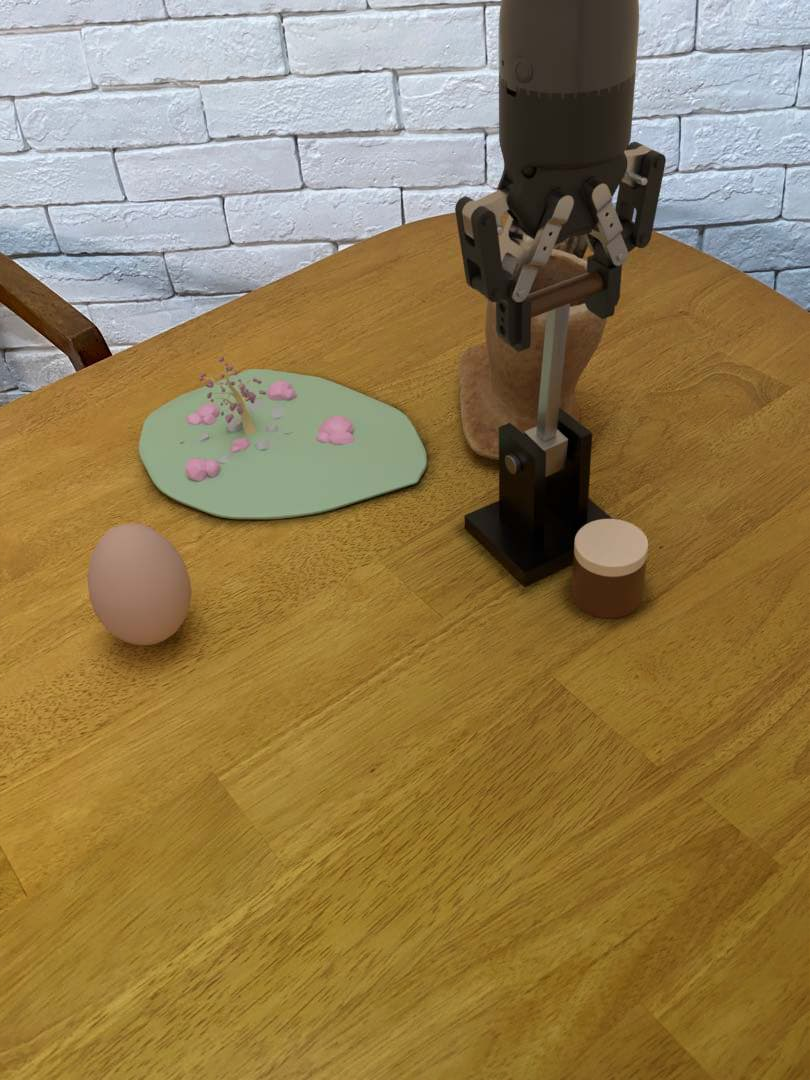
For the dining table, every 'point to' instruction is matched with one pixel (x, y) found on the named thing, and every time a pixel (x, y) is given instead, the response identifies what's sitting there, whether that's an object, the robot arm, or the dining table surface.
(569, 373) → the stone cup
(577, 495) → the black angular piece
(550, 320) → the metal lever handle
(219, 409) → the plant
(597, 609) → the brown lidded jar
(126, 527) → the egg
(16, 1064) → the dining table surface
